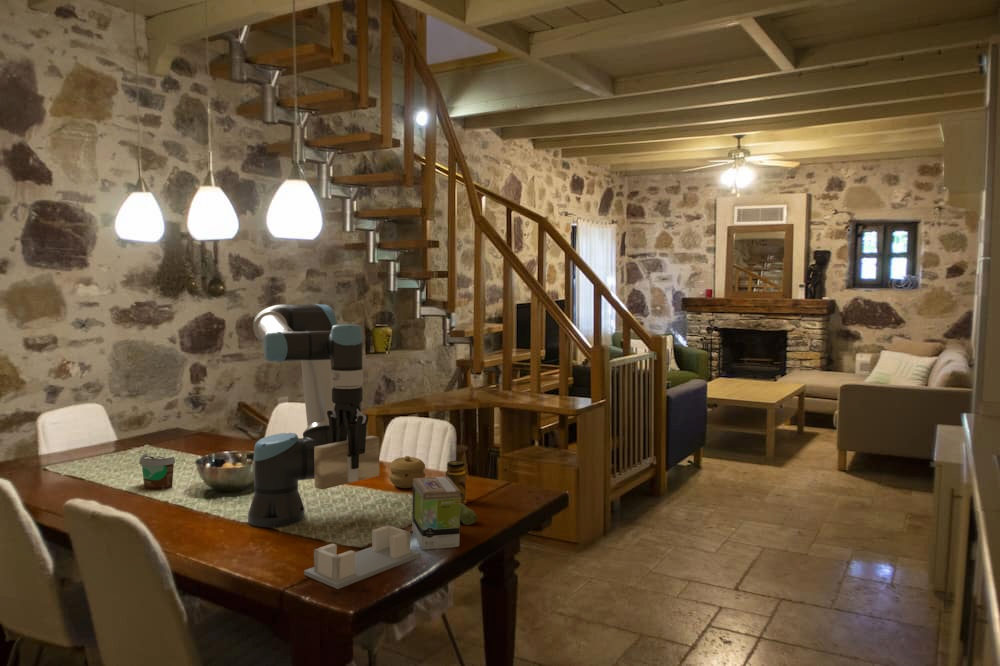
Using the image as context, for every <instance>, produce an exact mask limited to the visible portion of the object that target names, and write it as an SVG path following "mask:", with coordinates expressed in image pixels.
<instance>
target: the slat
mask: <svg viewBox="0 0 1000 666" xmlns="http://www.w3.org/2000/svg"><path fill="white" fill-rule="evenodd" d="M348 454H349V444H348V440H346V441H341V442H336V443H331V444H325V445H320V446H315V447H314V477H315V479H314V488H315V489H319V490H322V491H323V490H326V489H330V488H331V489H332V488H335V487H338V486H344V485H347V484H350V483H351V484H352V482H350V483H349V482H347V455H348ZM379 476H380V437H379V436H375V435H366V444H365V453H363V454H360V455H359V468H358V481H357V482H359V481H362V480H363V481H364V480H367V479H371V478H375V477H379ZM355 482H356V481H354V482H353V483H355Z"/></svg>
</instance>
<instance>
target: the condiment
mask: <svg viewBox="0 0 1000 666" xmlns="http://www.w3.org/2000/svg"><path fill="white" fill-rule="evenodd" d="M445 477H449V478H450V479H451V481H452V482H453V483H454V484H455V485H456V486H457V487H458V488H459V490H460V492H461V499H460V503H462V502H464V501H465V499H466V479H467V477H466V470H465V462H464V461H462V460H449V461H448V462H447V464H446V471H445Z"/></svg>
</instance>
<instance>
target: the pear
mask: <svg viewBox="0 0 1000 666" xmlns="http://www.w3.org/2000/svg"><path fill="white" fill-rule="evenodd" d="M477 519H478V514H476V513H475V511H474V510H473V509H470V508H468V506H466V505H465V503H463V504H462V503H460V522H461V523H462V524H463V525H465V526H470V525H473V524H475V523H476V521H477Z"/></svg>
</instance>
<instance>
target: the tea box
mask: <svg viewBox="0 0 1000 666" xmlns="http://www.w3.org/2000/svg"><path fill="white" fill-rule="evenodd" d="M460 499H461V492H460V490H459V488H458V487H457V486H456V485H455V484H454V483H453V482H452V481H451V479H450V478H449V477H446V476H434V477H432V476H431V477H425V478H413V488H412V515H411V516H412V521H411V523H412V524H411V525H412V526H411V529H412V532H413V534H414V537H415V539H416V541H417V543H418V545H419V546H420V548H421V549H422V550H423V551H424V550H438V549H450V548H459V546H460V537H461V536H460V532H461V531H460V530H461V529H460V528H461V520H460Z"/></svg>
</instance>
